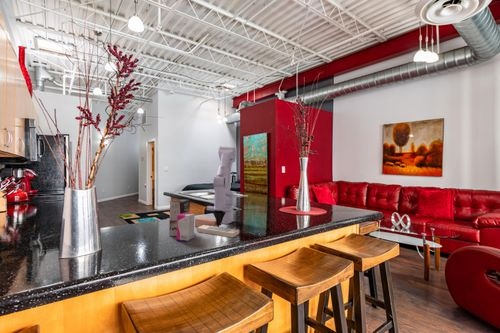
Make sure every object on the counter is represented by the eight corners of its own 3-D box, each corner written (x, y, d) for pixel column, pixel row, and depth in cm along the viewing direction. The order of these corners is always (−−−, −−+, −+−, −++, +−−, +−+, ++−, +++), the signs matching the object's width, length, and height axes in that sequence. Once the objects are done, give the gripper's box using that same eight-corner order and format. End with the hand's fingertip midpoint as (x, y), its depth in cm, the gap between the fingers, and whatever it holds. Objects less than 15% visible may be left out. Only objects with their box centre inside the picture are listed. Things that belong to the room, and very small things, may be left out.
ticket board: (204, 228, 136) (204, 224, 136) (239, 233, 129) (239, 229, 129) (196, 231, 130) (196, 227, 130) (232, 237, 122) (232, 232, 122)
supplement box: (194, 238, 119) (195, 213, 119) (188, 242, 113) (188, 215, 113) (182, 237, 120) (183, 212, 120) (176, 240, 115) (176, 214, 114)
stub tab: (200, 224, 144) (200, 217, 144) (219, 227, 139) (219, 219, 139) (194, 226, 139) (195, 219, 139) (214, 229, 134) (214, 221, 134)
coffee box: (181, 237, 120) (182, 202, 120) (168, 235, 122) (169, 201, 121) (189, 231, 129) (190, 199, 129) (177, 230, 131) (178, 198, 130)
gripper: (203, 198, 135) (203, 225, 135) (228, 201, 129) (227, 228, 130) (210, 197, 142) (210, 222, 142) (235, 199, 136) (234, 225, 136)
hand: (219, 225), depth 136 cm, fingers closed
